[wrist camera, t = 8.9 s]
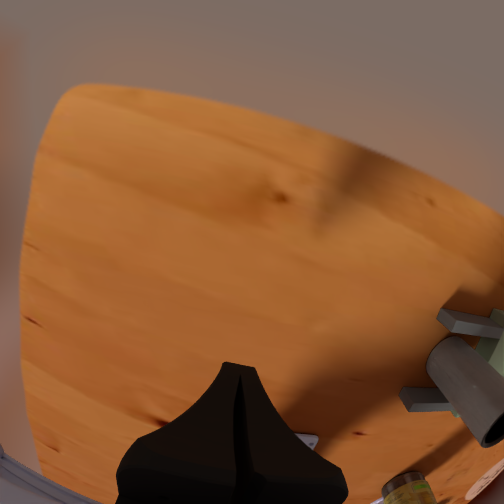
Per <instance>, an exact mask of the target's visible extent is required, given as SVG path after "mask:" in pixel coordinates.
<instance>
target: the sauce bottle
mask: <svg viewBox="0 0 504 504" xmlns="http://www.w3.org/2000/svg"><path fill="white" fill-rule="evenodd" d="M382 497H383V500H384V502H383V503H384V504H437V501H436V499H435V497H434V494H433V492H432V490H431V488H430V486H429V484H428V482H427V481H426V480H425V478H424V475H423V474H422V473H419V472H409V473H406V474H402V475H400V476H397V477H395V478H394V479H392V480H391V481H389V482H388V483H387V484H386V485H385V486H384V487H383V488H382Z"/></svg>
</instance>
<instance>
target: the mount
mask: <svg viewBox="0 0 504 504" xmlns="http://www.w3.org/2000/svg"><path fill="white" fill-rule="evenodd" d="M437 320H438V321H439V322H441V323H442V324H443V325H444V326H445V327H446V328H447V329H449V330H450V331H451V332H454V333H461V334H468V335H475V336H481V338H480V340H479V342H478V344H477V347H476V349H475V351H476V352H477V353H478V354H479V355H481V356H482V357H483V358H484V359H485V360H486V361H487V362H488V363H489V364H490V365H491V366H492V367H493V368H494V369H495V370H496V371H497V372H499V373H500V374H501V375H502V376H503V377H504V311H503V310H499V309H495V308H493V311H492V313H491V316H490V318H487V317H482V316H477V315H473V314H468V313H463V312H458V311H453V310H448V309H444V308H441V309H440V311H439V314H438V316H437ZM399 397H400V399H401V400H402V402H403V404H404V405H405V407H406V409H407V411H408V412H431V411H451V412H452V414H453V415H454V416H455V417H460V416H459V415H458V413H457V412H456V410H455V409H454V408H453V406H452V405H451V404H450V402H449V401H448V400H447V398H446V397H445V396H444V394H443V393H442V392H441V391H440V389H439V388H417V387H403V388H402V390H401V392H400V394H399Z"/></svg>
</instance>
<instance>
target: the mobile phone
mask: <svg viewBox="0 0 504 504" xmlns="http://www.w3.org/2000/svg"><path fill="white" fill-rule="evenodd" d="M383 502H384V500H383V497H382V498H380V499H378V500H376V501H374V502H372V503H371V504H384V503H383Z"/></svg>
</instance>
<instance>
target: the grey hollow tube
mask: <svg viewBox="0 0 504 504" xmlns="http://www.w3.org/2000/svg"><path fill="white" fill-rule="evenodd" d="M426 370H427V373H428V374H429V376H430V378H431V379H432V380H433V381H434V383H435V384H436V385H437V387H438V388H439V389H440V391H441V392H442V393H443V394H444V396H445V397H446V398H447V400H448V401H449V402H450V404H451V405H452V406H453V408H454V409H455V410H456V412H457V413H458V415H459V416H460V417H461V419H462V420H463V421H464V423H465V424H466V426H467V427H468V428H469V430H470V431H471V432H472V434H473V435H474V437H475V438H476V440H477V441H478V442H479V444H480V445H481V446H482V447H483V448H489V447H492V446H494V445H496V444H497V443H499V442H500V441H502V440H503V439H504V377H503V376H502V375H501V374H500V373H499V372H497V371H496V370H495V369H494V368H493V367H492V366H491V365H490V364H489V363H488V362H487V361H486V360H485V359H484V358H483V357H482V356H481V355H479V354H478V353H477V352H476V351H475V350H474V349H473V348H472V347H471V346H470V345H469V344H467V343H466V342H465V341H464V340H463V339H461V338H460V337H457V336H452V337H449V338H446V339H444V340H443V341H441V342H440V343H439V344H438V345H437V346H436V347H435V348H434V349H433V351H432V352H431V354H430V355H429V358H428V360H427V364H426Z"/></svg>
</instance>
